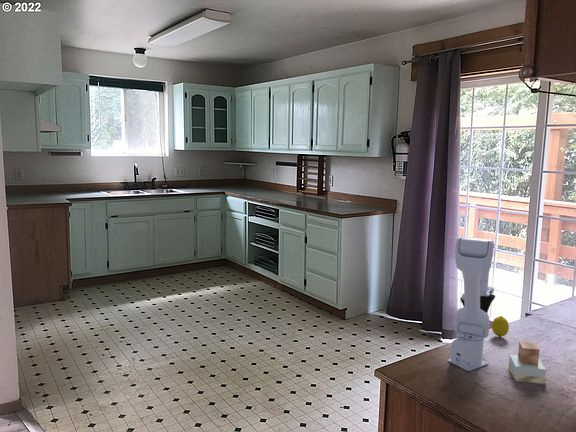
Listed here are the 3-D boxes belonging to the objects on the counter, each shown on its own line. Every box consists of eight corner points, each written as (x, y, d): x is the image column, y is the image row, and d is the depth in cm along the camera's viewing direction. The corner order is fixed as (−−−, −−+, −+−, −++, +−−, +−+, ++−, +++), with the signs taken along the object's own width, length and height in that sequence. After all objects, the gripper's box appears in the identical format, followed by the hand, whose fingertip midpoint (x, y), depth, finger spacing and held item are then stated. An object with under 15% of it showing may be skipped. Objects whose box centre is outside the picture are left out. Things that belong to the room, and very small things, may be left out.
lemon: (510, 340, 165) (512, 319, 164) (494, 340, 166) (496, 318, 164) (503, 334, 171) (505, 313, 170) (488, 334, 171) (490, 313, 170)
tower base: (516, 382, 137) (516, 374, 137) (508, 370, 145) (508, 362, 145) (545, 385, 136) (546, 377, 135) (536, 372, 144) (536, 364, 143)
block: (521, 363, 138) (522, 347, 137) (518, 357, 142) (519, 341, 142) (538, 365, 137) (539, 349, 136) (534, 359, 141) (535, 343, 141)
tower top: (515, 374, 137) (515, 366, 137) (509, 362, 145) (509, 354, 144) (545, 377, 135) (545, 369, 135) (537, 365, 143) (538, 357, 142)
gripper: (476, 285, 150) (473, 325, 153) (502, 277, 158) (499, 315, 160) (457, 279, 156) (455, 317, 159) (484, 272, 164) (481, 309, 166)
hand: (476, 316), depth 160 cm, fingers open, 7 cm apart
